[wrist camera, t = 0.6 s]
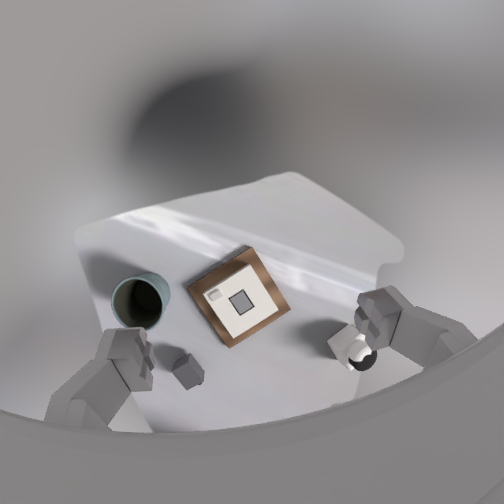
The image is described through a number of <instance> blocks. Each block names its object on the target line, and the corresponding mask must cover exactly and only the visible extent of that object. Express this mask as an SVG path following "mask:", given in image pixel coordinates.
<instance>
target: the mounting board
mask: <svg viewBox="0 0 504 504" xmlns="http://www.w3.org/2000/svg"><path fill="white" fill-rule="evenodd" d="M247 264H250V265H251V267H252V268H253V270H254V271H255V273H256V275H257V276H258V278H259V279H260V281H261V283H262V284H263V286H264V287H265V289H266V291H267V292H268V294H269V295H270V297H271V298H272V300H273V302H274V303H275V305H276V306H277V308H278V311H276V312H275V313H273V314H272V315H270V316H269V317H267V318H265V319H264V320H262V321H261V322H259V323H258V324H256V325H254V326H253V327H251V328H250V329H248V330H246V331H245V332H243V333H242V334H240V335H238V336H237V337H235V338H234V339H233V337H232V336H231V335H230V333H229V332H228V330H227V329H226V327H225V326H224V325H223V323H222V322H221V320H220V319H219V317H218V316H217V314H216V313H215V311H214V310H213V308H212V307H211V306H210V304H209V303H208V301H207V300H206V298H205V297H204V295H203V293H204V292H205V291H206V290H208V289H209V288H211V287H213V286H214V285H216V284H217V283H219V282H220V281H222V280H224V279H225V278H227V277H228V276H230V275H231V274H233V273H235V272H236V271H238V270H239V269H241V268H242V267H244V266H246V265H247ZM188 290H189V292H190V293H191V295H192V296H193V298H194V299H195V301H196V302H197V304H198V305H199V307H200V308H201V309H202V311H203V312H204V314H205V315H206V317H207V318H208V320H209V321H210V323H211V324H212V325H213V327H214V328H215V330H216V331H217V333H218V334H219V335H220V337H221V338H222V340H223V341H224V342H225V344H226V345H227V346H228V348H231V347H233V346H234V345H236V344H238V343H239V342H241V341H243V340H244V339H246V338H247V337H249V336H251V335H252V334H254V333H255V332H257V331H259V330H260V329H262V328H263V327H265V326H266V325H268V324H270V323H271V322H273V321H274V320H276V319H277V318H279V317H280V316H282V315H283V314H285V313H286V312H288V311H289V310H291V309H290V307H289V306H288V304H287V302H286V301H285V299H284V297H283V296H282V294H281V293H280V291H279V289H278V288H277V286H276V284H275V283H274V281H273V280H272V278H271V276H270V275H269V273H268V272H267V270H266V268H265V267H264V265H263V263H262V262H261V260H260V259H259V257H258V255H257V254H256V252H255V251H254V249H253V247H251V248H249V249H247V250H246V251H244V252H243V253H241V254H239V255H238V256H236V257H235V258H233V259H232V260H230V261H228V262H227V263H225V264H224V265H222V266H220V267H219V268H217V269H216V270H214V271H213V272H211V273H209V274H208V275H206V276H205V277H203V278H202V279H200V280H198V281H197V282H195V283H194V284H192V285H191V286H189V287H188Z"/></svg>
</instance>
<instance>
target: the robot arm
mask: <svg viewBox="0 0 504 504" xmlns="http://www.w3.org/2000/svg"><path fill="white" fill-rule="evenodd" d="M357 303H358V304H359V307H358V308H357V309H356V311H355V316H354V320H355V325H356V328H357V330H358V331H359V333H361V334H363V335H365V342H366V343H367V345H368V346H369V348H370V349H371V351H375V350H378V349H381V348H385V347H388V346H390V348H392V349H394V350H395V351H397V352H399V353H400V354H402V355H404V356H405V357H407V358H409V359H410V360H412V361H414V362H415V363H417V364H419V365H420V366H422V367H424V368H423V370H422V372H421V373H419V374H416V375H414V376H412V377H410V378H408V379H406V380H403V381H401V382H399V383H396V384H394V385H391V386H389V387H387V388H384V389H382V390H379V391H377V392H374V393H371V394H369V395H366V396H364V397H360V398H357V399H355V400H352V401H349V402H346V403H342V404H339V405H336V406H333V407H329V408H326V409H323V410H319V411H315V412H312V413H308V414H304V415H300V416H296V417H291V418H287V419H282V420H277V421H272V422H267V423H262V424H256V425H250V426H243V427H236V428H228V429H219V430H209V431H197V432H179V433H132V432H114V431H112V430H111V429H110V428H109V427H108V426H107V425H108V424H109V423H110V421H111V420H112V418H113V417H114V416H115V414H116V413H117V411H118V410H119V409H120V407H121V406H122V405H123V403H124V402H125V400H126V399H127V398H128V396H129V395H130V394H131V392H138V391H152V384H153V375H152V373H151V371H152V369H153V368H154V365H155V358H154V351H153V348H152V345H151V343H149V342H148V341H146V339H147V333H146V331H145V329H144V328H143V327H133V328H118V329H117V328H116V329H106V330H105V331H104V333H103V336H102V338H101V341H100V344H99V347H98V350H97V353H96V356H95V359H94V360H90V361H89V362H88V363H87V364H86V365H85V366H84V367H82V368H81V369H80V370H79V371H78V372H77V373H76V374H75V375H73V376H72V377H71V378H70V379H69V380H68V381H67V382H66V383H65V384H64V385H62V386H61V387H60V388H59V389H58V390H57V391H56V392H55V393H54V394H53V395H52V396H51V399H50V402H49V405H48V409H47V412H46V415H45V419H44V421H40V420H36V419H32V418H27V417H24V416H20V415H17V414H13V413H9V412H6V411H4V410H1V409H0V504H504V323H503V324H501V325H500V326H498V327H497V328H496V329H494V330H493V331H491V332H490V333H488V334H487V335H486V336H484V337H482V338H481V339H479V340H478V339H477V338H476V337H475V336H474V335H473V334H472V333H471V332H470V331H469V330H468V329H467V328H466V326H464V324H463V323H460V322H458V321H455V320H453V319H450V318H447V317H444V316H442V315H439V314H437V313H434V312H432V311H429V310H426V309H423V308H421V307H418V306H415V307H414V306H413V305H412V304H411V303H410V302H409V301H408V300H407V299H406V298H405V297H404V296H403V295H402V294H401V293H400V292H399V291H398V290H397V289H396V288H395V287H394V286H391V285H390V286H387V287H383V288H380V289H376V290H372V291H368V292H363V293H360V294H359V296H358V299H357Z"/></svg>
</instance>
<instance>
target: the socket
mask: <svg viewBox="0 0 504 504" xmlns="http://www.w3.org/2000/svg"><path fill="white" fill-rule="evenodd" d="M242 290H243V292H244V293H245V295H246V296H247V298H248V300H249V301H250V303H251V304H252V306H253V307H251V308H250V309H248V310H247V311H245V312H243V313H242V314H240V313H239V312H238V310H237V309H236V307H235V306H234V304H233V303H232V301H231V300H230V298H231V297H233V296H234V295H236V294H237V293H239V292H240V291H242ZM203 295H204V297H205V298H206V300H207V301H208V303H209V304H210V306H211V307H212V308H213V310H214V311H215V313H216V314H217V316H218V317H219V319H220V320H221V322H222V323H223V325H224V326H225V327H226V329H227V330H228V332H229V333H230V335H231V336H232V337H233V339H234V338H235V337H237V336H238V335H240V334H242V333H243V332H245V331H246V330H248V329H250V328H251V327H253V326H254V325H256V324H258V323H259V322H261V321H262V320H264V319H265V318H267V317H269V316H270V315H272V314H273V313H275V312H276V311H278V308H277V306H276V305H275V303H274V302H273V300H272V298H271V297H270V295H269V294H268V292H267V291H266V289H265V287H264V286H263V284H262V283H261V281H260V279H259V278H258V276H257V275H256V273H255V271H254V270H253V268H252V267H251V265H250V264H247V265H246V266H244V267H242V268H241V269H239V270H238V271H236V272H235V273H233V274H231V275H230V276H228V277H227V278H225V279H224V280H222V281H220V282H219V283H217V284H216V285H214V286H213V287H211V288H209V289H208V290H206V291H205V292H204V293H203Z"/></svg>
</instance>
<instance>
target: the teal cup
mask: <svg viewBox="0 0 504 504" xmlns="http://www.w3.org/2000/svg"><path fill="white" fill-rule="evenodd" d="M169 300H170V288H169V285H168V283H167V282H166V281H165V279H164V278H162V277H161V276H159V275H157V274H154V273H146V274H142V275H141V276H134V277H129V278H126V279H124V280H122V281H121V282H120V283H119V284H118V285H117V286H116V287H115V289H114V291H113V293H112V298H111V306H112V310H113V313H114V315H115V317H116V319H117V320H118V321H119V323H120V324H121V325H123V326H124V327H125V328H133V327H143V328H144V329H145V331H149V330H151V329H153V328H154V327H155V326H156V325H158V323H159V322H160V321H161V319H162V316H163V314H164V311H165V309H166V306H167V305H168V302H169Z"/></svg>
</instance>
